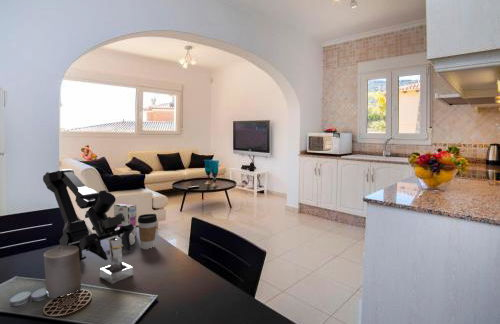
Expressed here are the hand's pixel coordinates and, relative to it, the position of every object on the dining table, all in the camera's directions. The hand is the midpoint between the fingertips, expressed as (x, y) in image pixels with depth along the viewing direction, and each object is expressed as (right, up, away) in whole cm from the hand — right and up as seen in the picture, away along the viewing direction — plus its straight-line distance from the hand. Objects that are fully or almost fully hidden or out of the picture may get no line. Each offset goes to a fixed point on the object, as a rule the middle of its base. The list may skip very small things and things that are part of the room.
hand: (118, 255), depth 105 cm
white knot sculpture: (-13, -6, +30) cm, 33 cm away
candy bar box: (-16, -4, +43) cm, 46 cm away
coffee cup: (0, -6, +30) cm, 30 cm away
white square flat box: (-1, -8, +1) cm, 8 cm away
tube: (-1, -7, +1) cm, 7 cm away
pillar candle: (-14, -9, -10) cm, 19 cm away
